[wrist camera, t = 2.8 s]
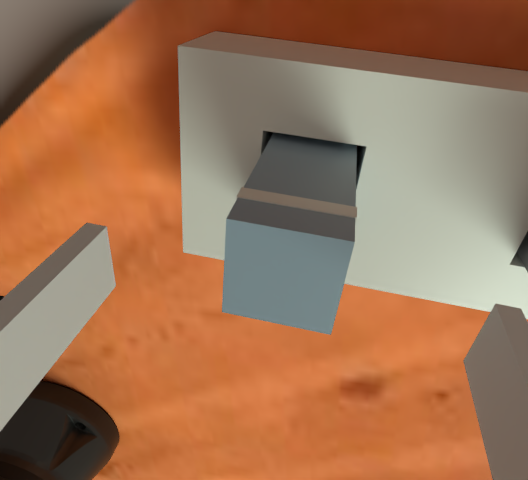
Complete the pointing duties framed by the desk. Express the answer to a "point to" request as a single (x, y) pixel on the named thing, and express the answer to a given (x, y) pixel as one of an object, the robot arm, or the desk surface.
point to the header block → (370, 157)
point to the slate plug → (292, 234)
